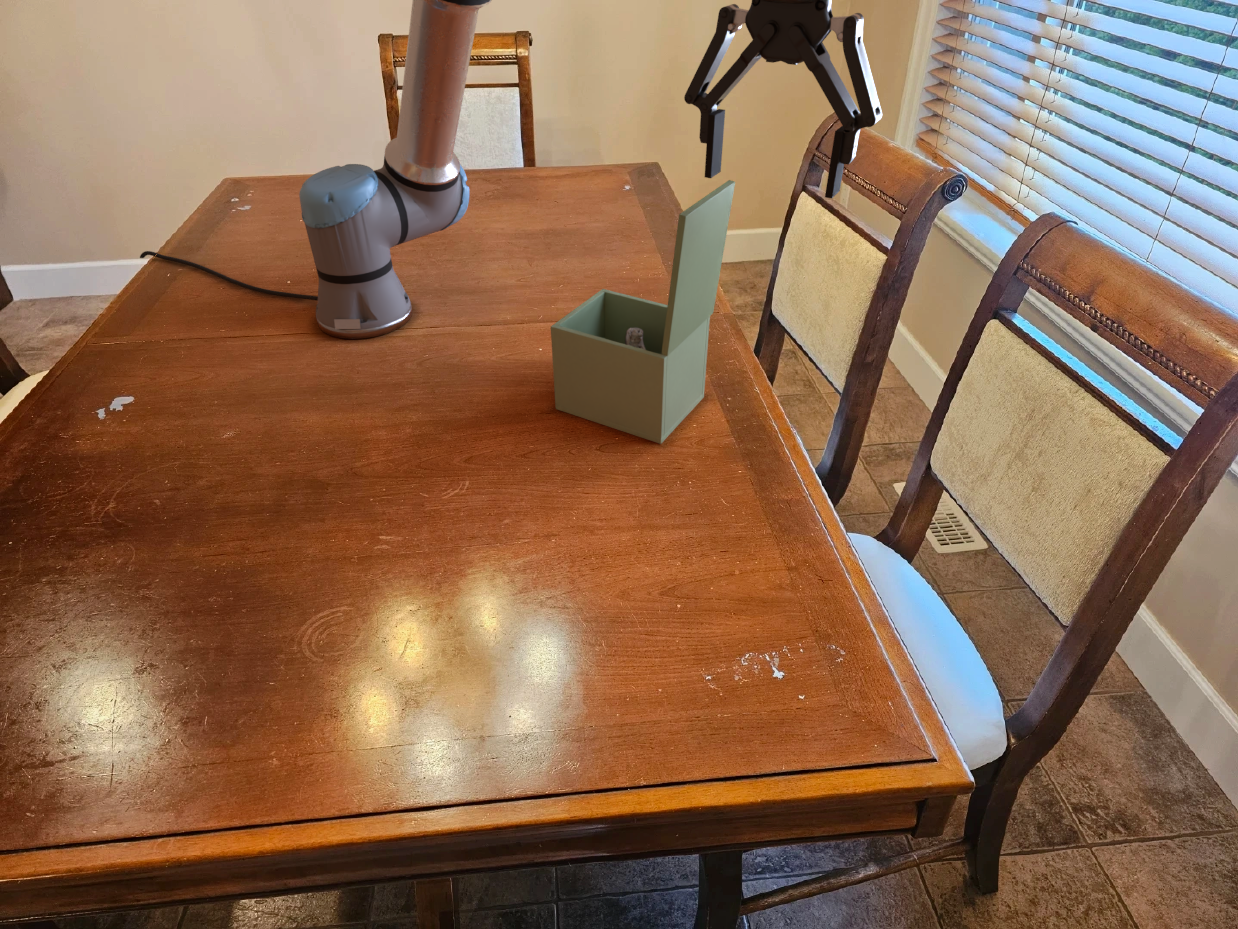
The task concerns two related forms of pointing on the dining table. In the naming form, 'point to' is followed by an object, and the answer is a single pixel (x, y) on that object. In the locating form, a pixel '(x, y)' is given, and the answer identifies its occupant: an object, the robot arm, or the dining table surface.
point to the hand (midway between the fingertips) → (770, 184)
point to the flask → (635, 338)
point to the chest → (626, 366)
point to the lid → (697, 265)
